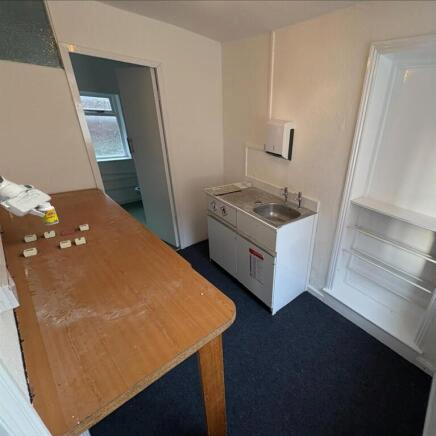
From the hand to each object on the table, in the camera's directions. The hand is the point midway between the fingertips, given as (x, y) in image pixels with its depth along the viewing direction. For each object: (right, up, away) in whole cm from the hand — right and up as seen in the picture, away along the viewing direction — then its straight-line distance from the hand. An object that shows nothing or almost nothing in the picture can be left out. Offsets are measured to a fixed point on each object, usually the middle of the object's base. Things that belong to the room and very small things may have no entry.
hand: (49, 213), depth 111 cm
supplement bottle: (-1, -5, +2) cm, 6 cm away
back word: (-9, -11, +14) cm, 20 cm away
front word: (+3, -17, +1) cm, 17 cm away
